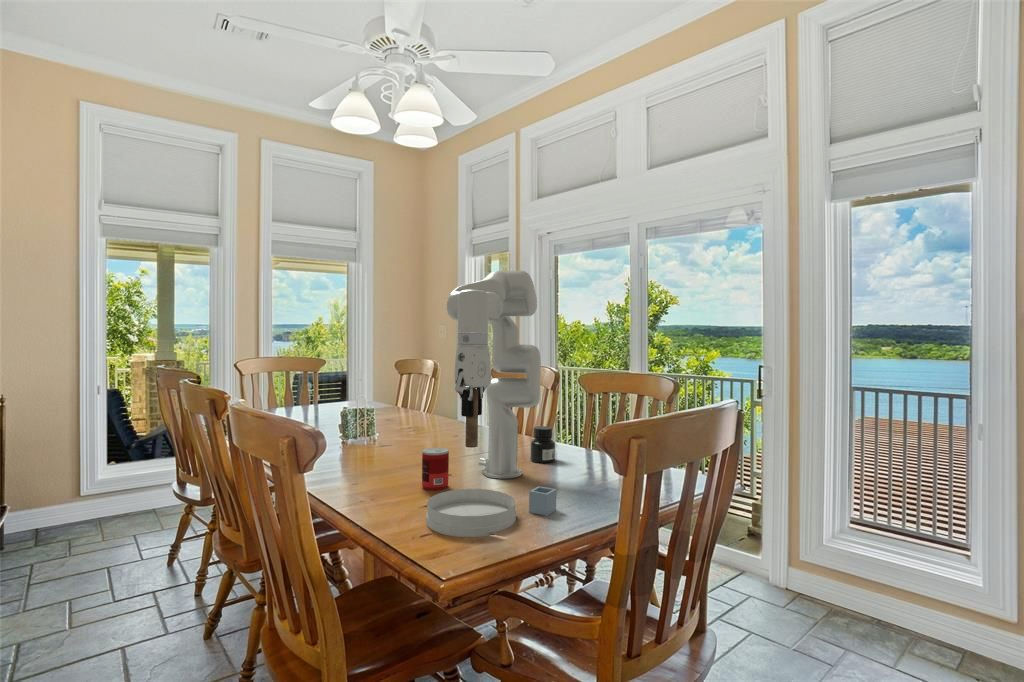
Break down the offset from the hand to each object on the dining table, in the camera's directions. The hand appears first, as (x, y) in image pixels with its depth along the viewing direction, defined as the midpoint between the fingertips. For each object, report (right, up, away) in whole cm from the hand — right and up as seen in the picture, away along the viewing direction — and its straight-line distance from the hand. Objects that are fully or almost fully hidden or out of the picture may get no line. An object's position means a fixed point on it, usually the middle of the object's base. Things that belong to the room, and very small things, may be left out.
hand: (471, 414), depth 134 cm
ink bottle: (+21, -25, +64) cm, 72 cm away
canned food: (-13, -26, +29) cm, 41 cm away
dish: (0, -27, +1) cm, 27 cm away
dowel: (0, -8, 0) cm, 8 cm away
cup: (+18, -26, +7) cm, 32 cm away
